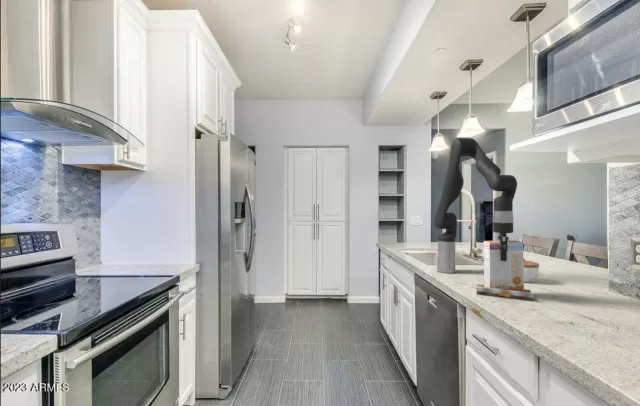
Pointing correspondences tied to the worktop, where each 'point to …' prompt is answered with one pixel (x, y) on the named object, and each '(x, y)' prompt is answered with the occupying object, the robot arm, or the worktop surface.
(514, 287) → the cracker box
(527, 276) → the lidded bowl
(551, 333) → the worktop surface
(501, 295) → the brown book
